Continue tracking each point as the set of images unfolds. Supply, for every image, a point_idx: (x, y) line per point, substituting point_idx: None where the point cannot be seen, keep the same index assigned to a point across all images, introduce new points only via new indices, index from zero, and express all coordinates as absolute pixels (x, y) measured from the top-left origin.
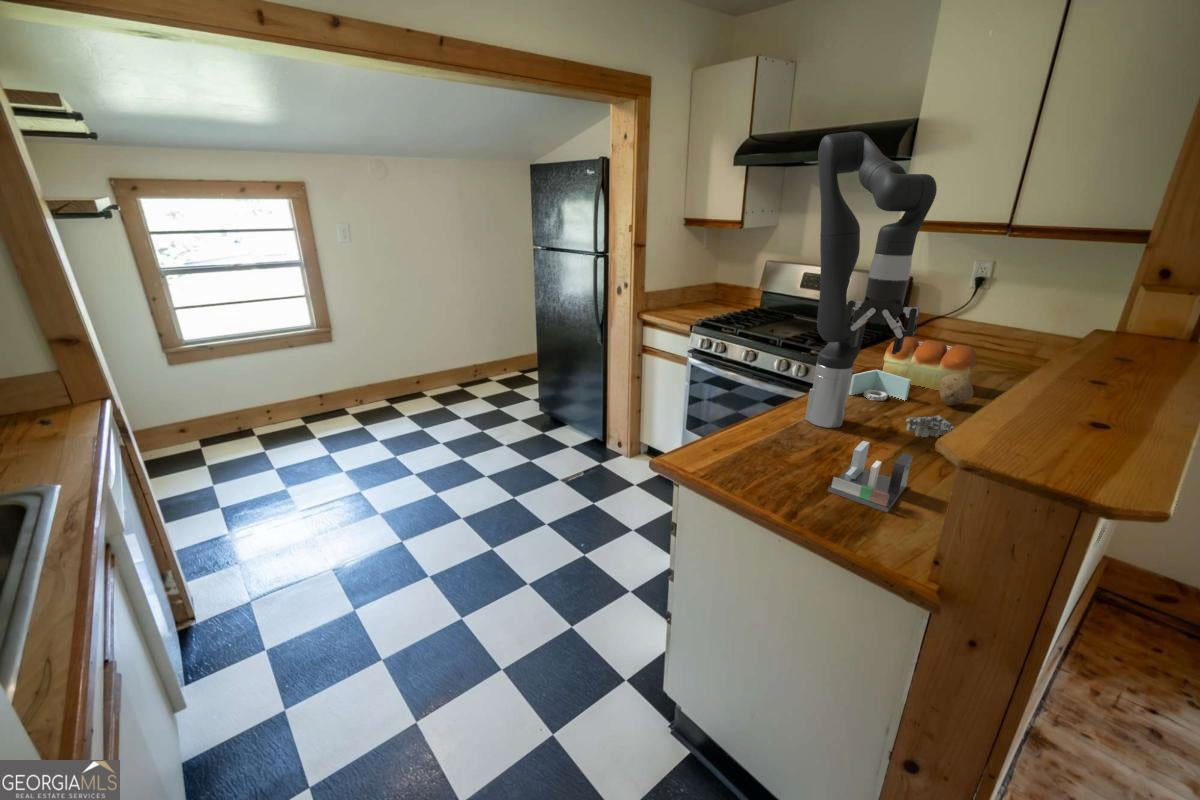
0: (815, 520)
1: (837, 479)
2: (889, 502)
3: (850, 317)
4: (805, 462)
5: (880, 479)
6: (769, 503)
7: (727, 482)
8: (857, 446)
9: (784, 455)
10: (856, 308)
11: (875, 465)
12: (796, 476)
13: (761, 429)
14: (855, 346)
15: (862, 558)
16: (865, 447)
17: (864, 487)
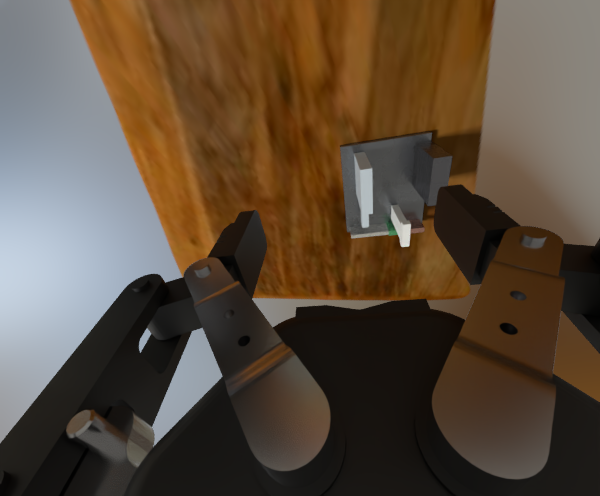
0: (363, 281)
1: (357, 237)
2: (420, 210)
3: (170, 373)
4: (284, 181)
5: (393, 157)
6: (316, 286)
7: (263, 284)
8: (361, 200)
9: (251, 185)
10: (143, 448)
11: (406, 240)
12: (301, 224)
13: (155, 126)
14: (261, 227)
15: (417, 298)
16: (372, 189)
17: (392, 234)
